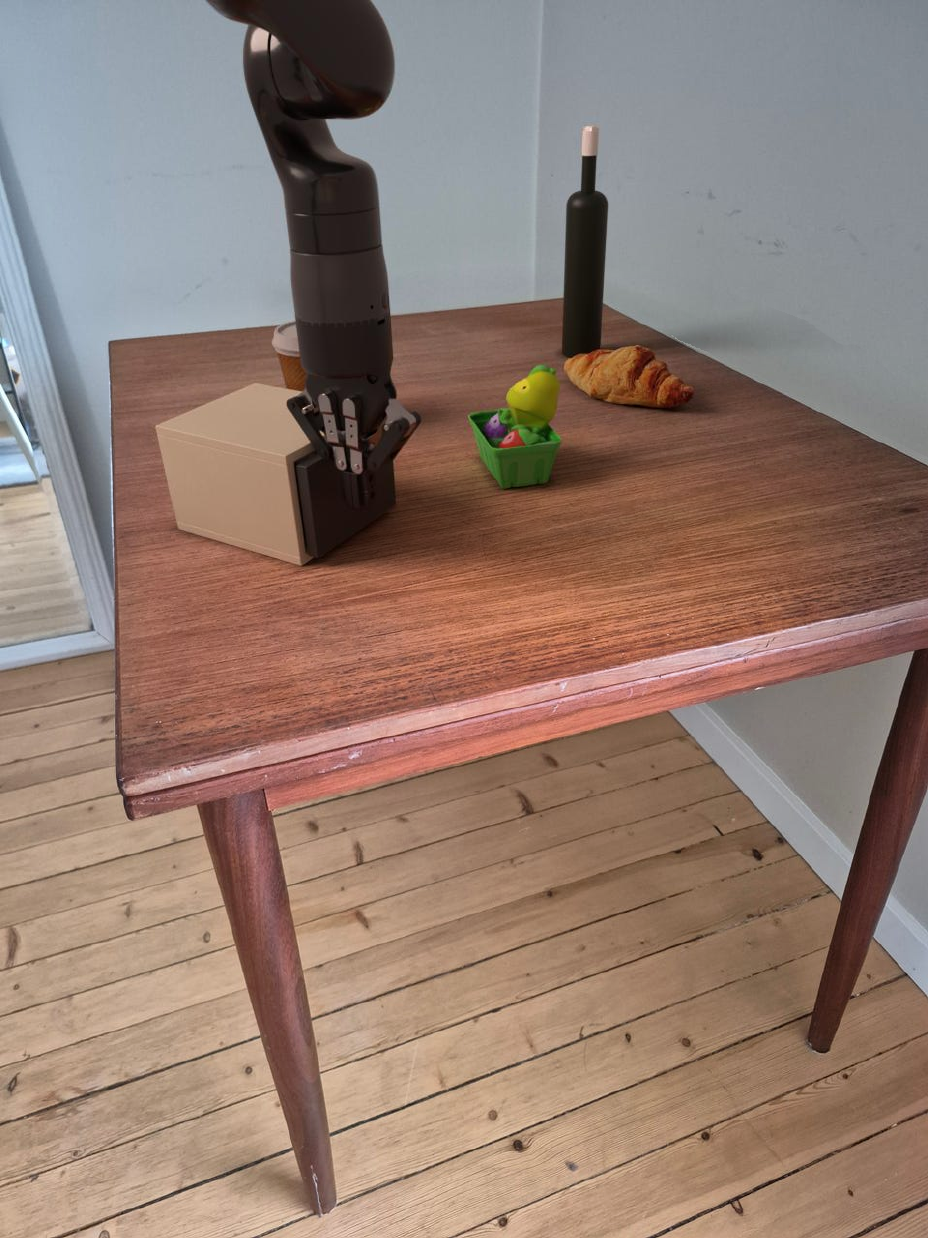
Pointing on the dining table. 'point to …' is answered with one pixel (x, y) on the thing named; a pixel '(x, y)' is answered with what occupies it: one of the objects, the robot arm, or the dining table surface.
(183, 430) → the cabinet
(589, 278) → the wine bottle
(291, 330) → the disposable coffee cup
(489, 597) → the dining table surface
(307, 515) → the pulled-out nightstand drawer
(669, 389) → the croissant
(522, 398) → the fruit basket
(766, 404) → the dining table surface
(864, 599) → the dining table surface
